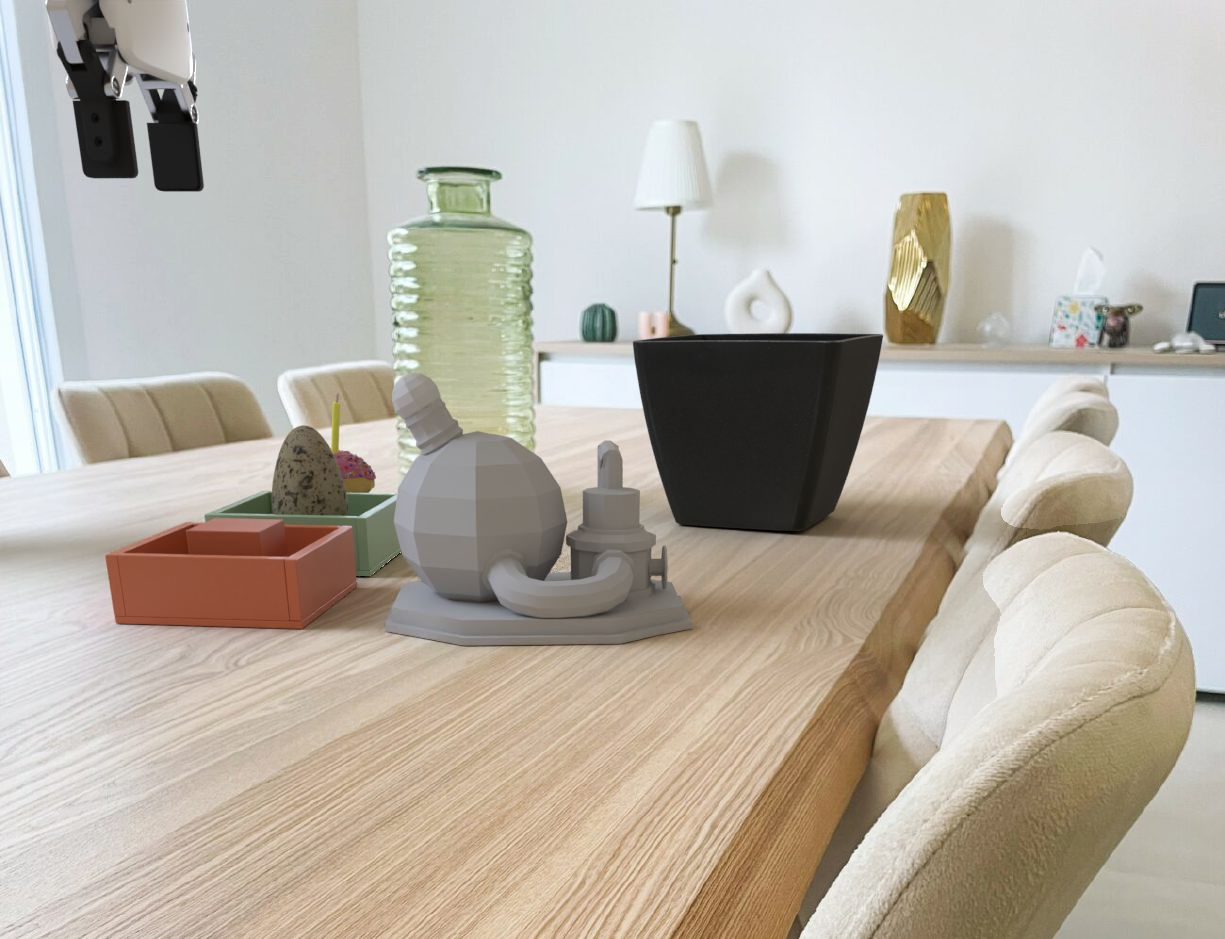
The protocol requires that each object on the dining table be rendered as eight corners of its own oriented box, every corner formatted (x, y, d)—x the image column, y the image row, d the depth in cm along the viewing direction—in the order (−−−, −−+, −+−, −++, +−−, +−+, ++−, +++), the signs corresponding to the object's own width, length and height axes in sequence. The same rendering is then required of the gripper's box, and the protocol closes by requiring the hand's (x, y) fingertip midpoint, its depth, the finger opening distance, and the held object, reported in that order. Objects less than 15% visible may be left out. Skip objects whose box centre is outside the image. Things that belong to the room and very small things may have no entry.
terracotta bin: (115, 623, 80) (104, 554, 78) (193, 582, 92) (185, 522, 90) (302, 629, 79) (295, 559, 77) (357, 587, 91) (352, 525, 89)
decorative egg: (324, 543, 104) (314, 420, 100) (366, 553, 100) (357, 425, 96) (262, 552, 100) (249, 425, 96) (303, 563, 96) (291, 430, 92)
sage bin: (211, 573, 95) (203, 514, 93) (268, 543, 106) (262, 490, 105) (370, 577, 94) (365, 518, 92) (410, 546, 105) (406, 493, 104)
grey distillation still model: (376, 646, 75) (357, 380, 69) (402, 591, 90) (389, 367, 83) (699, 643, 76) (708, 382, 70) (674, 589, 91) (680, 368, 84)
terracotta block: (195, 604, 83) (185, 530, 81) (223, 588, 88) (214, 517, 86) (266, 606, 83) (258, 531, 81) (291, 590, 87) (284, 519, 85)
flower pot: (626, 528, 114) (628, 335, 108) (693, 500, 131) (698, 330, 124) (825, 544, 108) (840, 339, 101) (870, 512, 124) (885, 333, 117)
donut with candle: (397, 526, 115) (389, 391, 110) (335, 540, 108) (323, 397, 103) (328, 518, 119) (317, 387, 114) (264, 531, 112) (249, 393, 107)
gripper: (112, -101, 79) (150, 195, 86) (-44, -202, 63) (17, 172, 70) (225, -104, 78) (254, 195, 85) (96, -206, 62) (144, 172, 69)
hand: (147, 184), depth 77 cm, fingers open, 9 cm apart
